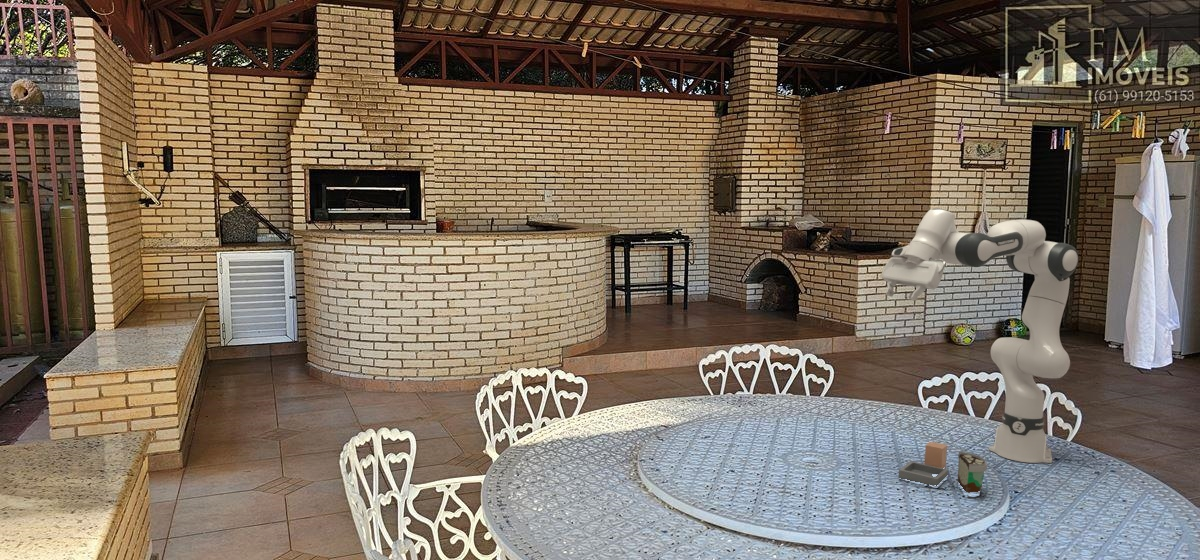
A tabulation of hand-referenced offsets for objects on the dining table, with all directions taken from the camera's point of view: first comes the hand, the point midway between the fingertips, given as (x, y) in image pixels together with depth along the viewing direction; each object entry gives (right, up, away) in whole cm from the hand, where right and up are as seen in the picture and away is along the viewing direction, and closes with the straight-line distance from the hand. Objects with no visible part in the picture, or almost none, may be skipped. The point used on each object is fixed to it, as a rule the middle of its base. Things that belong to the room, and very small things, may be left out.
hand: (900, 297), depth 229 cm
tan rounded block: (+15, -54, +10) cm, 57 cm away
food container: (+18, -56, -8) cm, 60 cm away
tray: (+7, -55, +1) cm, 55 cm away
